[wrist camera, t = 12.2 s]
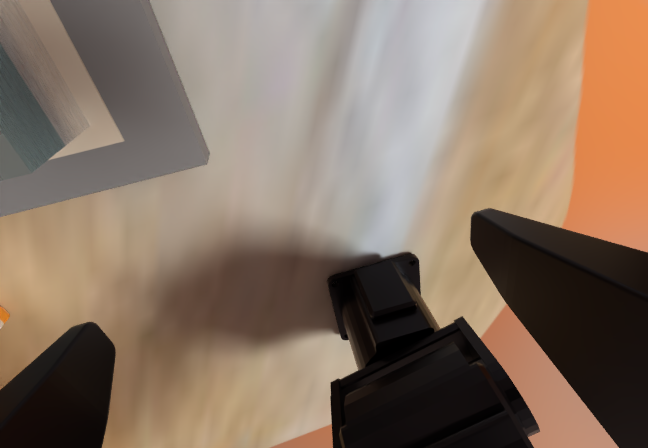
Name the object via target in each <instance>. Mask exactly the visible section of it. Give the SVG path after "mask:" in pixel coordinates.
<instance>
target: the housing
mask: <svg viewBox="0 0 648 448" xmlns="http://www.w3.org/2000/svg"><path fill="white" fill-rule="evenodd" d="M88 127H90V125H89V123H88V121H87V119H86V118H85V116H84V114H83V112H82V111H81V109H80V107H79V105H78V104H77V102H76V100H75V98H74V97H73V95H72V93H71V91H70V90H69V88H68V86H67V84H66V83H65V81H64V79H63V77H62V76H61V74H60V72H59V70H58V69H57V67H56V65H55V64H54V62H53V60H52V58H51V57H50V55H49V53H48V51H47V50H46V48H45V46H44V44H43V43H42V41H41V39H40V37H39V36H38V34H37V32H36V30H35V29H34V27H33V25H32V23H31V22H30V20H29V18H28V16H27V15H26V13H25V11H24V9H23V8H22V6H21V4H20V2H19V1H18V0H0V181H3V180H7V179H11V178H15V177H19V176H23V175H27V174H31V173H33V172H34V171H35V170H36V169H37V168H39V167H40V166H41V165H42V164H44V163H45V162H46V161H47V160H49V159H50V158H51V157H52V156H54V155H55V154H56V153H57V152H59V151H60V150H61V149H62V148H64V147H65V146H66V145H67V144H68V143H70V142H71V141H72V140H73V139H75V138H76V137H77V136H78V135H80V134H81V133H82V132H83V131H85V130H86V129H87V128H88Z"/></svg>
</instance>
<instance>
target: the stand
mask: <svg viewBox="0 0 648 448" xmlns="http://www.w3.org/2000/svg"><path fill="white" fill-rule="evenodd" d="M18 1H19V2H20V4H21V6H22V8H23V9H24V11H25V13H26V15H27V16H28V18H29V20H30V22H31V23H32V25H33V27H34V29H35V30H36V32H37V34H38V36H39V37H40V39H41V41H42V43H43V44H44V46H45V48H46V50H47V51H48V53H49V55H50V57H51V58H52V60H53V62H54V64H55V65H56V67H57V69H58V70H59V72H60V74H61V76H62V77H63V79H64V81H65V83H66V84H67V86H68V88H69V90H70V91H71V93H72V95H73V97H74V98H75V100H76V102H77V104H78V105H79V107H80V109H81V111H82V112H83V114H84V116H85V118H86V119H87V121H88V123H89V125H90V127H88V128H87V129H86V130H85V131H83V132H82V133H81V134H80V135H78V136H77V137H76V138H75V139H73V140H72V141H71V142H70V143H68V144H67V145H66V146H65V147H64V148H62V149H61V150H60V151H59V152H57V153H56V154H55V155H54V156H52V157H51V158H50V159H49V160H47V161H46V162H45V163H44V164H42V165H41V166H40V167H39V168H37V169H36V170H35V171H34V172H33V173H31V174H27V175H23V176H19V177H15V178H11V179H7V180H3V181H0V217H2V216H6V215H10V214H14V213H18V212H22V211H26V210H30V209H33V208H37V207H41V206H45V205H49V204H53V203H57V202H61V201H65V200H69V199H73V198H77V197H81V196H84V195H88V194H92V193H96V192H100V191H104V190H108V189H112V188H116V187H120V186H124V185H128V184H132V183H136V182H139V181H143V180H147V179H151V178H155V177H159V176H163V175H167V174H171V173H175V172H179V171H183V170H187V169H190V168H194V167H198V166H202V165H206V164H207V163H208V158H209V154H210V153H209V150H208V148H207V145H206V143H205V140H204V138H203V135H202V133H201V130H200V128H199V125H198V123H197V120H196V118H195V115H194V112H193V110H192V107H191V105H190V102H189V100H188V97H187V95H186V92H185V90H184V87H183V85H182V82H181V80H180V77H179V75H178V72H177V70H176V67H175V65H174V62H173V60H172V57H171V55H170V52H169V50H168V47H167V45H166V42H165V40H164V37H163V35H162V32H161V30H160V27H159V25H158V22H157V20H156V17H155V14H154V12H153V9H152V7H151V4H150V2H149V0H18Z"/></svg>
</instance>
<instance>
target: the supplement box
mask: <svg viewBox="0 0 648 448" xmlns="http://www.w3.org/2000/svg"><path fill="white" fill-rule="evenodd" d="M9 317H10V315H9V313H8V312H7V311H6V310H5V309H4V308H3V307H1V306H0V329H1V328H2V326H3V325H4V324H5V322H6V321H7V320H8V318H9Z"/></svg>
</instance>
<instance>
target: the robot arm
mask: <svg viewBox="0 0 648 448" xmlns="http://www.w3.org/2000/svg"><path fill="white" fill-rule="evenodd" d="M470 241H471V246H472V248H473V250H474V252H475V254H476V255H477V257H478V259H479V260H480V262H481V263H482V265H483V267H484V268H485V270H486V272H487V273H488V275H489V277H490V278H491V280H492V281H493V283H494V285H495V286H496V288H497V290H498V291H499V293H500V294H501V296H502V297H503V299H504V300H505V302H506V303H507V304H508V306H509V307H510V308H511V310H512V311H513V312H514V314H515V315H516V316H517V318H518V319H519V320H520V321H521V323H522V324H523V325H524V326H525V328H526V329H527V330H528V332H529V333H530V334H531V335H532V337H533V338H534V339H535V341H536V342H537V343H538V344H539V346H540V347H541V348H542V350H543V351H544V352H545V353H546V355H547V356H548V357H549V359H550V360H551V361H552V362H553V364H554V365H555V366H556V367H557V369H558V370H559V371H560V373H561V374H562V375H563V376H564V378H565V379H566V380H567V382H568V383H569V384H570V385H571V387H572V388H573V389H574V391H575V392H576V393H577V394H578V396H579V397H580V398H581V400H582V401H583V402H584V403H585V404H586V406H587V407H588V409H589V410H590V411H591V412H592V413H593V415H594V416H595V417H596V419H597V420H598V421H599V423H600V424H601V425H602V426H603V428H604V429H605V430H606V432H607V433H608V434H609V435H610V437H611V438H612V439H613V440H614V442H615V443H616V444H617V446H618V447H619V448H648V253H647V252H644V251H640V250H637V249H633V248H630V247H626V246H623V245H619V244H615V243H611V242H608V241H604V240H601V239H598V238H594V237H590V236H587V235H584V234H580V233H576V232H573V231H569V230H566V229H562V228H559V227H555V226H552V225H548V224H545V223H541V222H538V221H534V220H531V219H527V218H523V217H520V216H516V215H513V214H509V213H506V212H502V211H499V210H495V209H491V208H488V209H484V210H481V211H477V212H474V213H473V214H472V217H471V236H470ZM412 260H413V261H412ZM410 261H412V262H410ZM333 282H337V283H334V284H333ZM327 284H328V288H329V292H330V296H331V300H332V304H333V308H334V312H335V316H336V320H337V323H338V327H339V331H340V335H341V338H342V339H343V340H349V341H350V344H351V348H352V351H353V354H354V357H355V361H356V364H357V367H358V371H356V372H354V373H352V374H350V375H348V376H346V377H344V378H342V379H337V380H335V381H333V382H331V416H332V435H333V448H534V447H533V445H532V444H531V442H530V440H529V439H528V437H529V436H531V435H534V434H536V433H538V432H540V430H539V427H538V424H537V423H536V420H535V419H534V416H533V415H532V413H531V411H530V409H529V408H528V406H527V405H526V403H525V401H524V399H523V398H522V396H521V395H520V393H519V391H518V390H517V388H516V387H515V385H514V384H513V382H512V381H511V379H510V378H509V376H508V375H507V373H506V372H505V370H504V369H503V368H502V366H501V365H500V364H499V363H498V361H497V360H496V358H495V357H494V356H493V355H492V353H491V352H490V351H489V350H488V348H487V347H486V346H485V344H484V343H483V342H482V341H481V339H480V338H479V337H478V336H477V334H476V333H475V332H474V330H473V329H472V328H471V327H470V325H469V324H468V323H467V322H466V320H465V319H464V318H463V317H460V318H458V319H456V320H454V323H452V324H450V325H448V326H446V327H444V328H442V329H440V327H439V325H438V324H437V322H436V320H435V319H434V317H433V315H432V314H431V312H430V310H429V309H428V307H427V305H426V304H425V302H424V300H423V299H422V297H421V291H420V271H419V260H418V258H417V256H416V255H415V254H408V255H405V256H401V257H397V258H394V259H390V260H387V261H383V262H379V263H376V264H372V265H369V266H365V267H361V268H358V269H354V270H351V271H347V272H343V273H340V274H336V275H333V276H330V277H329V278H328V280H327ZM115 353H116V352H115V347H114V345H113V343H112V341H111V340H110V339H109V338H108V337H107V336H106V334H105V333H104V332H103V331H102V330H101V328H100V327H99V326H98V325H97V324H96V323H94V322H87V323H83V324H80V325H76V326H74V327H72V328H70V329H69V330H68V331H67V332H66V333H64V334H63V335H62V336H61V337H60V338H59V339H58V340H56V341H55V342H54V343H53V344H52V345H51V346H50V347H49V348H47V349H46V350H45V351H44V352H43V353H42V354H41V355H40V356H38V357H37V358H36V359H35V360H34V361H33V362H32V363H30V364H29V365H28V366H27V367H26V368H25V369H24V370H23V371H21V372H20V373H19V374H18V375H17V376H16V377H15V378H14V379H12V380H11V381H10V382H9V383H8V384H7V385H6V386H4V387H3V388H2V389H1V390H0V448H102V444H103V440H104V435H105V430H106V425H107V420H108V414H109V407H110V398H111V390H112V381H113V372H114V363H115Z"/></svg>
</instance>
